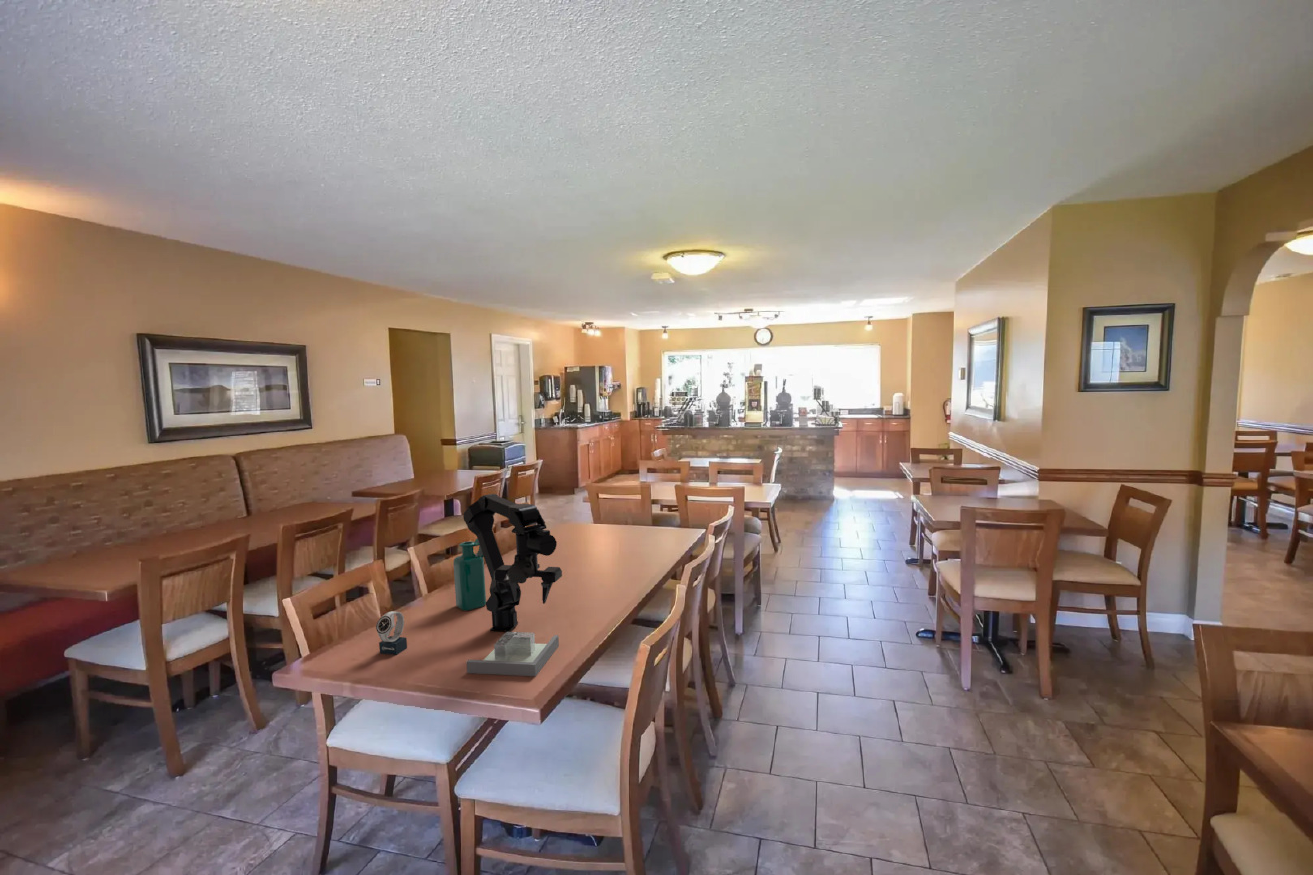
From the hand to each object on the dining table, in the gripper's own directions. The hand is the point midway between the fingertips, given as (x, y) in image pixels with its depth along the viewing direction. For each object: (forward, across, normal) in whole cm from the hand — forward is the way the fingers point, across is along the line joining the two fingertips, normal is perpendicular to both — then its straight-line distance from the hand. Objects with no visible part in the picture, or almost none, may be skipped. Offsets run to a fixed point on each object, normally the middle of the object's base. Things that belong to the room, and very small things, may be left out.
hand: (529, 602), depth 163 cm
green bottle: (+12, -32, +23) cm, 41 cm away
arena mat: (+11, +1, -12) cm, 16 cm away
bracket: (+10, +1, -12) cm, 16 cm away
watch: (+11, -36, -12) cm, 40 cm away
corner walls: (+11, +1, -12) cm, 16 cm away
